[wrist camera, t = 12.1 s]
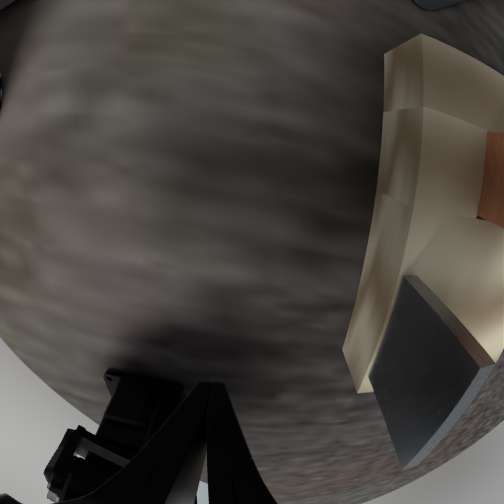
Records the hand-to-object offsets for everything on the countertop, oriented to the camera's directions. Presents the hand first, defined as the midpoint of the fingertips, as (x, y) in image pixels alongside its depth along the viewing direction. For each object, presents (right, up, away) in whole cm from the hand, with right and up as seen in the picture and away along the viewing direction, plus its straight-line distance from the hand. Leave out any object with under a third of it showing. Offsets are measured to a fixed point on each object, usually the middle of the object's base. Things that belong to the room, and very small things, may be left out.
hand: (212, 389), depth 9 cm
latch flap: (+8, 0, 0) cm, 8 cm away
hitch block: (+14, +6, +5) cm, 16 cm away
